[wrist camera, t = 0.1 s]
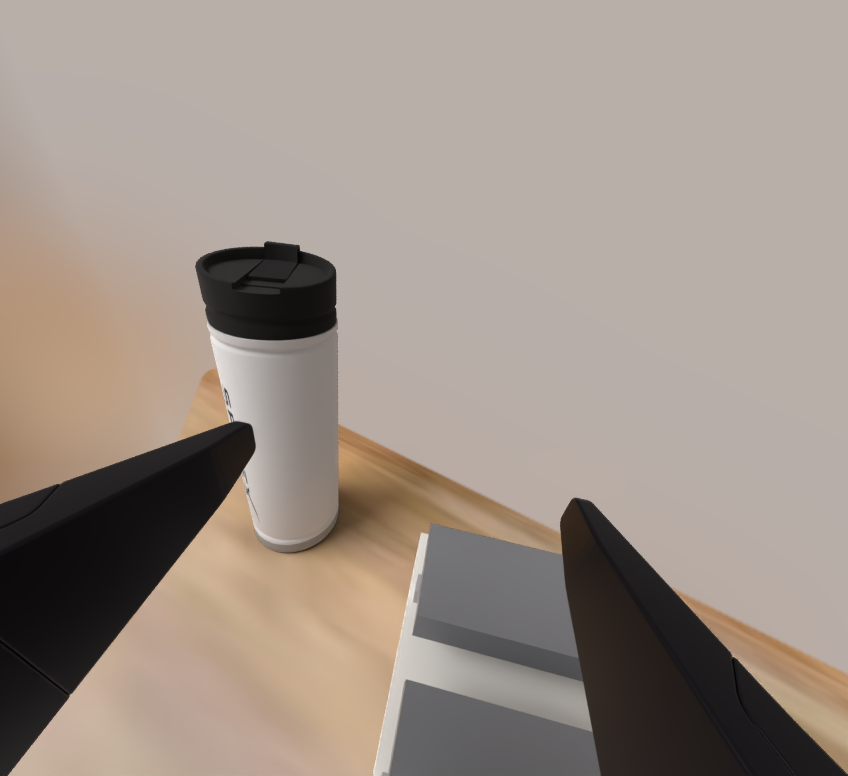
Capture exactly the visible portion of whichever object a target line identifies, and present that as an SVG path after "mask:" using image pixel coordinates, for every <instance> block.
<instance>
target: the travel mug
mask: <svg viewBox="0 0 848 776" xmlns="http://www.w3.org/2000/svg"><path fill="white" fill-rule="evenodd" d="M195 267H196V272H197V276H198V280H199V285H200V289H201V294H202V297H203V301H204V302H205V304H206V310H205V311H206V315H207V326H208V329H209V331H210V333H211V337H210V339H211V343H212V348H213V352H214V356H215V360H216V365H217V369H218V374H219V378H220V382H221V386H222V391H223V395H224V399H225V404H226V408H227V412H228V417H229V421H230V423H231V422H234V421H241V422H245V423H249V424H251V425H252V427H253V431H254V437H255V442H256V449H255V452H254V454H253V456H252V458H251V459H250V461H249V462H248V464H247V465H246V467H245V469H244V470H243V472H242V477H243V482H244V486H245V490H246V495H247V499H248V503H249V507H250V512H251V516H252V519H253V525H254V529H255V533H256V536H257V538H258V539H259V541H260V542H261V543H262V544H263V545H264V546H265V547H267V548H269V549H271V550H273V551H277V552H297V551H302V550H304V549H307V548H310V547H312V546H314V545H315V544H317V543H319V542H320V541H321V540H323V539H324V538H325V537H326V536H327V535H328V534H329V533H330V532H331V530H332V529H333V527H334V526H335V523H336V521H337V518H338V513H339V502H338V499H339V497H338V335H337V329H338V324H337V323H338V322H337V318H336V308H335V305H336V269H335V267H334V266H333V265H332V264H331V263H330V262H329V261H327V260H325V259H323V258H321V257H319V256H316V255H313V254H310V253H306V252H302V251H300V246H299V245H293V244H285V243H276V242H269V241H267V242H265V243H264V247H239V248H230V249H224V250H219V251H215V252H212V253H209V254H206V255H204V256H203V257H201V258H200V259H199V260H198V261H197V262H196V266H195Z"/></svg>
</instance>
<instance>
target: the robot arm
mask: <svg viewBox="0 0 848 776" xmlns="http://www.w3.org/2000/svg"><path fill="white" fill-rule="evenodd" d="M255 449H256V442H255V437H254V431H253V427H252V425H251V424H249V423H245V422H241V421H234V422H231V423H228V424H225V425H223V426H220V427H217V428H214V429H211V430H208V431H206V432H203V433H200V434H197V435H194V436H191V437H189V438H186V439H183V440H180V441H177V442H175V443H172V444H169V445H166V446H163V447H161V448H158V449H155V450H152V451H149V452H146V453H144V454H141V455H138V456H135V457H132V458H129V459H127V460H124V461H121V462H118V463H115V464H113V465H110V466H107V467H104V468H101V469H98V470H96V471H93V472H90V473H87V474H84V475H82V476H79V477H76V478H73V479H70V480H67V481H65V482H63V483H61V484H56V485H53V486H50V487H48V488H45V489H42V490H39V491H36V492H34V493H31V494H28V495H25V496H22V497H19V498H16V499H13V500H11V501H8V502H5V503H2V504H0V776H8V775H9V773H10V772H11V771H12V769H13V768H14V767H15V766H16V764H17V763H18V762H19V761H20V759H21V758H22V757H23V756H24V754H25V753H26V752H27V750H28V749H29V748H30V747H31V745H32V744H33V743H34V742H35V740H36V739H37V738H38V736H39V735H40V734H41V733H42V731H43V730H44V729H45V728H46V726H47V725H48V724H49V723H50V721H51V720H52V719H53V717H54V716H55V715H56V714H57V712H58V711H59V710H60V709H61V707H62V706H63V705H64V703H65V702H66V701H67V700H68V698H69V697H70V694H72V693H73V692H74V690H75V689H76V688H77V687H78V685H79V684H80V683H81V681H82V680H83V679H84V678H85V676H86V675H87V674H88V673H89V671H90V670H91V669H92V667H93V666H94V665H95V664H96V662H97V661H98V660H99V659H100V657H101V656H102V655H103V653H104V652H105V651H106V650H107V648H108V647H109V646H110V645H111V643H112V642H113V641H114V640H115V638H116V637H117V636H118V634H119V633H120V632H121V631H122V629H123V628H124V627H125V626H126V624H127V623H128V622H129V620H130V619H131V618H132V617H133V615H134V614H135V613H136V612H137V610H138V609H139V608H140V606H141V605H142V604H143V603H144V601H145V600H146V599H147V598H148V596H149V595H150V594H151V593H152V591H153V590H154V589H155V587H156V586H157V585H158V584H159V582H160V581H161V580H162V579H163V577H164V576H165V575H166V573H167V572H168V571H169V570H170V568H171V567H172V566H173V565H174V563H175V562H176V561H177V559H178V558H179V557H180V556H181V554H182V553H183V552H184V551H185V549H186V548H187V547H188V546H189V544H190V543H191V542H192V540H193V539H194V538H195V537H196V535H197V534H198V533H199V532H200V530H201V529H202V528H203V526H204V525H205V524H206V523H207V521H208V520H209V519H210V518H211V516H212V515H213V514H214V512H215V511H216V510H217V509H218V507H219V506H220V505H221V503H222V502H223V501H224V499H225V498H226V496H227V495H228V493H229V492H230V490H231V489H232V487H233V486H234V484H235V483H236V481H237V479H238V478H239V476H240V475H241V473H242V472H243V470H244V469H245V467H246V465H247V464H248V462H249V461H250V459H251V458H252V456H253V454H254V452H255ZM560 530H561V542H562V555H563V567H564V578H565V587H566V593H567V599H568V604H569V610H570V615H571V620H572V625H573V631H574V636H575V641H576V647H577V652H578V657H579V663H580V668H581V673H582V679H583V684H584V689H585V695H586V700H587V705H588V710H589V716H590V721H591V726H592V732H593V737H594V742H595V748H596V753H597V758H598V764H599V769H600V774H601V776H848V774H847V773H846V772H845V771H844V770H843V769H842V768H841V767H840V766H839V765H838V764H837V763H836V762H835V761H834V760H833V759H832V758H831V757H830V756H829V755H828V754H827V753H826V752H825V751H824V750H823V749H822V748H821V747H820V746H819V745H818V744H817V743H816V742H815V741H814V740H813V739H812V738H811V737H810V736H809V735H808V734H807V733H806V732H805V731H804V730H803V729H802V728H801V727H800V726H799V725H798V724H797V723H796V722H795V721H794V720H793V719H792V717H791V716H790V715H789V714H788V713H787V712H786V711H785V710H784V709H783V708H782V707H781V706H780V705H779V704H778V703H777V702H776V701H775V699H774V698H773V697H772V696H771V695H770V694H769V693H768V692H767V691H766V690H765V689H764V688H763V687H762V686H761V685H760V684H759V683H758V681H757V680H756V679H755V678H754V677H753V676H752V675H751V674H750V673H749V672H748V671H747V670H746V669H745V667H744V666H743V665H742V664H741V663H740V662H739V661H738V660H737V659H736V658H734V657H732V654H731V652H730V651H729V650H728V649H727V648H726V647H725V646H724V645H723V644H722V643H721V642H720V641H719V639H718V638H717V637H716V636H715V635H714V634H713V633H712V632H711V631H710V630H709V629H708V628H707V626H706V625H705V624H704V623H703V622H702V621H701V620H700V619H699V618H698V617H697V616H696V615H695V613H694V612H693V611H692V610H691V609H690V608H689V607H688V606H687V605H686V604H685V603H684V602H683V600H682V599H681V598H680V597H679V596H678V595H677V594H676V593H675V592H674V591H673V590H672V589H671V587H670V586H669V585H668V584H667V583H666V582H665V581H664V580H663V579H662V578H661V577H660V576H659V574H658V573H657V572H656V571H655V570H654V569H653V568H652V567H651V566H650V565H649V564H648V563H647V561H645V559H644V558H643V557H642V556H641V555H640V554H639V553H638V552H637V551H636V550H635V549H634V547H633V546H632V545H631V544H630V543H629V542H628V541H627V540H626V539H625V538H624V537H623V536H622V534H621V533H620V532H619V531H618V530H617V529H616V528H615V527H614V526H613V525H612V524H611V522H610V521H609V520H608V519H607V518H606V517H605V516H604V515H603V514H602V513H601V512H600V511H599V510H598V508H597V507H596V506H595V505H594V504H593V503H592V502H590V501H588V500H584V499H580V498H573V499H572V500H571V501H570V503H569V505H568V506H567V508H566V510H565V512H564V514H563V515H562V517H561V522H560Z"/></svg>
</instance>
